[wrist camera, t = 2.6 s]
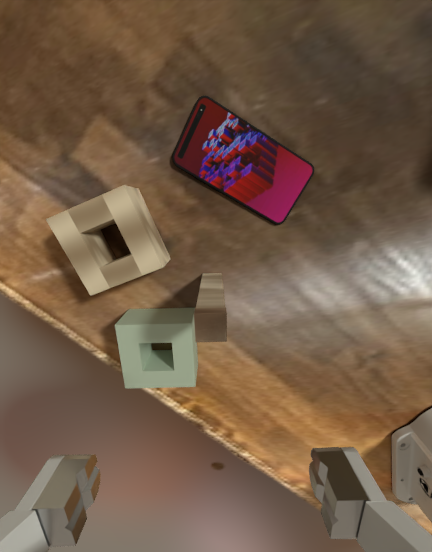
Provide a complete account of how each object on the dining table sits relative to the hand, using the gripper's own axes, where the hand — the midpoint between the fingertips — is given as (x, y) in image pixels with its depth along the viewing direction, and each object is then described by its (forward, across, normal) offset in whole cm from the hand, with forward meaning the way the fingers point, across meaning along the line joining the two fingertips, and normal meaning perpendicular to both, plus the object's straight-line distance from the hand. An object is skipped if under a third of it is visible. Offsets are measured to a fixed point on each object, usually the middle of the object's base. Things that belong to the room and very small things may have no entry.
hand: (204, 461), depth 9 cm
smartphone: (+23, -4, -14) cm, 27 cm away
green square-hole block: (+22, +7, +8) cm, 25 cm away
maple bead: (+22, +11, -6) cm, 26 cm away
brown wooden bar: (+22, 0, 0) cm, 22 cm away
